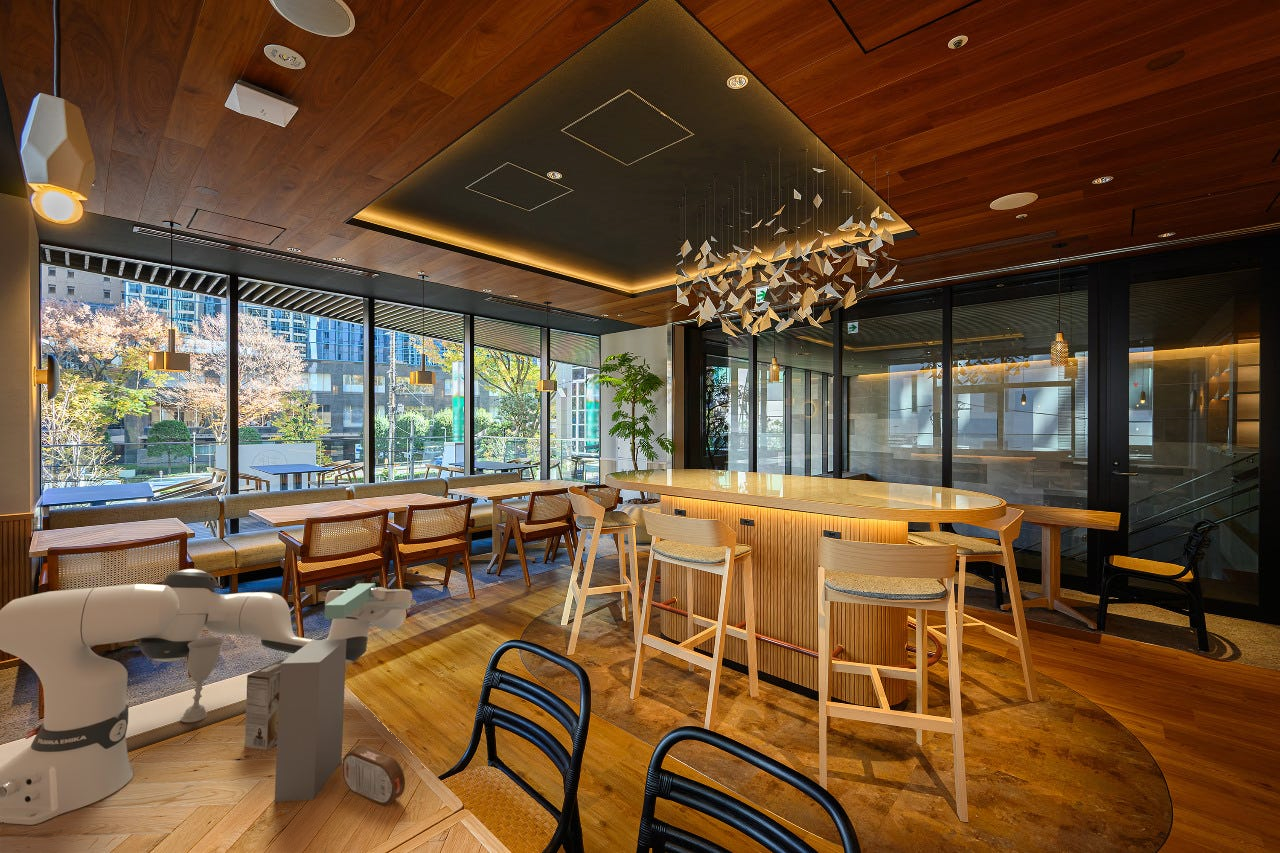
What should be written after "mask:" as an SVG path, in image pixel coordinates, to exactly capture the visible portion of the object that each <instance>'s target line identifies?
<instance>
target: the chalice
mask: <svg viewBox="0 0 1280 853" xmlns="http://www.w3.org/2000/svg"><path fill="white" fill-rule="evenodd" d="M223 643H224V639H223V638H221V637H202V638H200V639H198V640H195V641H192V642H190V643H189V644H188V648H189V656H188V657H187V663H186V667H187V671H188V674H189V676H190V677H191V681H193V682H196V686H195V688H194V689H193V690H194V692H195V694H194V696H192V699H193V704H192V705H191V706H189V707H187V709H186V710H185V712H184V713H183V715H182V716H181V718H180V721H181V722H182V723H194V722H198V721H201V720H203V719H205V718H207V717H208V713H207V710H206V708H205V706H204V705H203V704H200V700H201V698H202V697H203V695H202V694H201V692H202V690H203V685H202V683H203V682H204V681H205V680H208V678H209V677H210V675H211V673H212V672H213V671H214V670H215V667H216V666H217V664H218V662H219V658H220V653H221V646H222V644H223Z"/></svg>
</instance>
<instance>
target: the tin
mask: <svg viewBox="0 0 1280 853" xmlns="http://www.w3.org/2000/svg"><path fill="white" fill-rule="evenodd" d="M342 758H343V759H342V778H343V781H344V783H345V785H346V786H347V788H348V789H349V791H351V792H352V793H354V794H356V795H357V796H360V797H363V798H365V799H367V800H368V801H371V802H374V803H375V804H378V805H380V806H388V805H390V804H391V803H392V802H394V801H395V800H396V799H397V798H398V799H399V798H400V797H401V796H402V795H403V793H404V791H405V787H406V777H405V773H404V770H403V767H402V766H401V764H400V763H399V761H398V760H397V759H396V758H395V757H394V756H392V755H390V754H388V753H385V752H382V751H380V750H378V749H375V748H372V747H370V746H367V745H364V744H359V745H357V746H355V747H354V748H353V749H351V750H350V751H348V752H347V753H346V754H345V756H344V757H342Z"/></svg>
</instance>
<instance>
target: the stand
mask: <svg viewBox="0 0 1280 853" xmlns="http://www.w3.org/2000/svg"><path fill="white" fill-rule="evenodd" d="M346 640H347V639H340V640H326V639H313V640H312V641H310V642H309V643H308V644H306V645H305V646H304V647H302V648H301V649H299V650H298V651H297V652H295V653H292V655H290V656H288V657H287V658H285V659H284V660H285V661H283V662H282V663H281V668H280V690H279V712H278V734H277V744H276V757H275V758H276V762H275V780H274V781H275V784H274V800H273V801H274V803H278V802H279V803H281V802H283V803H284V802H297V801H311V800H312V801H313V800H315V798H316V797H317V796H318V795H319V793H320V791H322V789H323V788H324V787H325V785H326V783H328V781H329V780H330V778H331V777H332V776H333V775H334V773H335V772H336V770H337V769H336V768H339V766H340V765H341V763H343V759H342V758H343V735H344V732H343V731H344V710H345V690H346V689H345V687H346V665H347V663H346ZM339 764H340V765H339ZM334 771H335V772H334ZM333 772H334V773H333ZM331 775H332V776H331Z"/></svg>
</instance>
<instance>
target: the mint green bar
mask: <svg viewBox="0 0 1280 853" xmlns="http://www.w3.org/2000/svg"><path fill="white" fill-rule="evenodd" d="M374 588H376V583H375V582H373V583H372V582H371V583H370V582H369V583H363V582H362V583H357V584H356V585H354V586H352V587H350V588H348V589H349V590H348V591H346V592H345V593H343V594H342V595H340V596H338V597H337V598H335V599H334V600H332V601H331V602H329V603H328V604H326V605H325V604H324V616H323V617H324V620H333V619H344V618H345V617H347V616H348V615H349V614H351V613H352V612H353V611H355V610H356V609H357V608H359V607H360V606H361V605H363V604H364V603H365V602H366V601H368V600H369V599H370V598H372V597H370V596H369V592H370V589H374Z"/></svg>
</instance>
